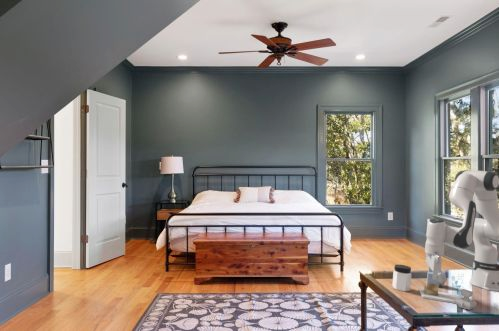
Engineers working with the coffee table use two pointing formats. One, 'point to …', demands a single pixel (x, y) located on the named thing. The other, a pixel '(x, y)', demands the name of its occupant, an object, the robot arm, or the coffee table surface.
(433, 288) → the block oak
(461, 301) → the stamp
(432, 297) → the board
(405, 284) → the jar
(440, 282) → the die
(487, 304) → the coffee table surface
